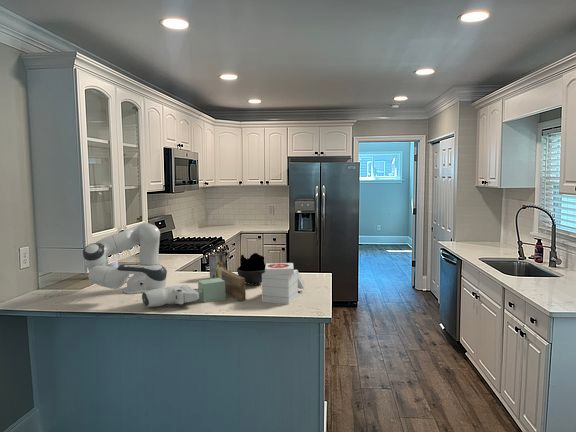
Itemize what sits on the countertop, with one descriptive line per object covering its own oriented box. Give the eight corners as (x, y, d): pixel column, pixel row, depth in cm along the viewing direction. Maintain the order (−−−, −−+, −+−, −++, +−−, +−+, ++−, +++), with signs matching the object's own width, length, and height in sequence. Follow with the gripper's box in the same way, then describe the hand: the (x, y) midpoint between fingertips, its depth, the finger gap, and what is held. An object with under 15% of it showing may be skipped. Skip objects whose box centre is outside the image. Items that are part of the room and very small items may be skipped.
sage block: (204, 302, 229) (203, 284, 228) (198, 298, 237) (198, 280, 236) (225, 299, 235) (225, 281, 234) (219, 295, 243) (218, 277, 242)
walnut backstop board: (240, 301, 231) (240, 279, 229) (222, 290, 253) (221, 270, 252) (245, 300, 232) (245, 278, 231) (226, 289, 254) (226, 269, 253)
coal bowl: (273, 280, 275) (272, 251, 273) (265, 289, 255) (265, 257, 253) (242, 279, 278) (241, 250, 276) (233, 287, 259) (232, 256, 257)
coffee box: (219, 276, 288) (219, 252, 286) (226, 278, 284) (225, 253, 282) (209, 279, 281) (208, 254, 279) (216, 280, 277) (215, 255, 275)
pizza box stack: (308, 290, 250) (307, 259, 248) (290, 305, 222) (290, 270, 220) (277, 288, 257) (276, 258, 255) (256, 302, 228) (255, 268, 227)
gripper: (170, 295, 234) (195, 292, 241) (181, 305, 217) (208, 300, 224) (170, 284, 234) (195, 280, 241) (180, 292, 216) (207, 288, 223)
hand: (201, 290), depth 232 cm, fingers closed, pressing on sage block
